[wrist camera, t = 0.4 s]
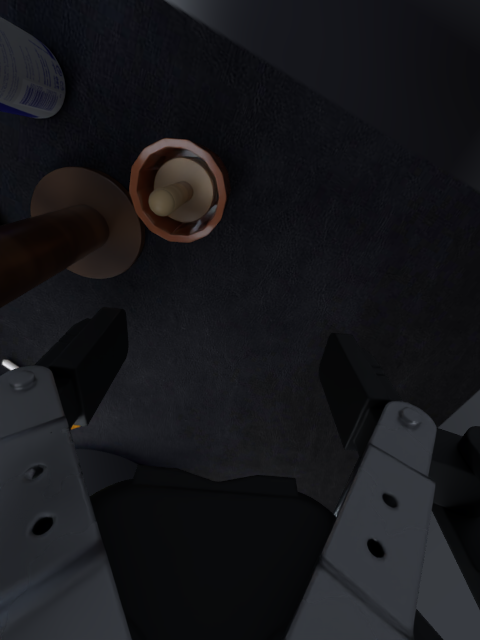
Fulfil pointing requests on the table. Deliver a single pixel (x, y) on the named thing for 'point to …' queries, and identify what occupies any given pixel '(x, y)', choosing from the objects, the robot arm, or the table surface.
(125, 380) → the table surface
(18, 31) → the beverage can
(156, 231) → the holder
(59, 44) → the table surface
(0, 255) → the brown pedestal stand
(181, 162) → the beige plunger
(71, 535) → the robot arm
